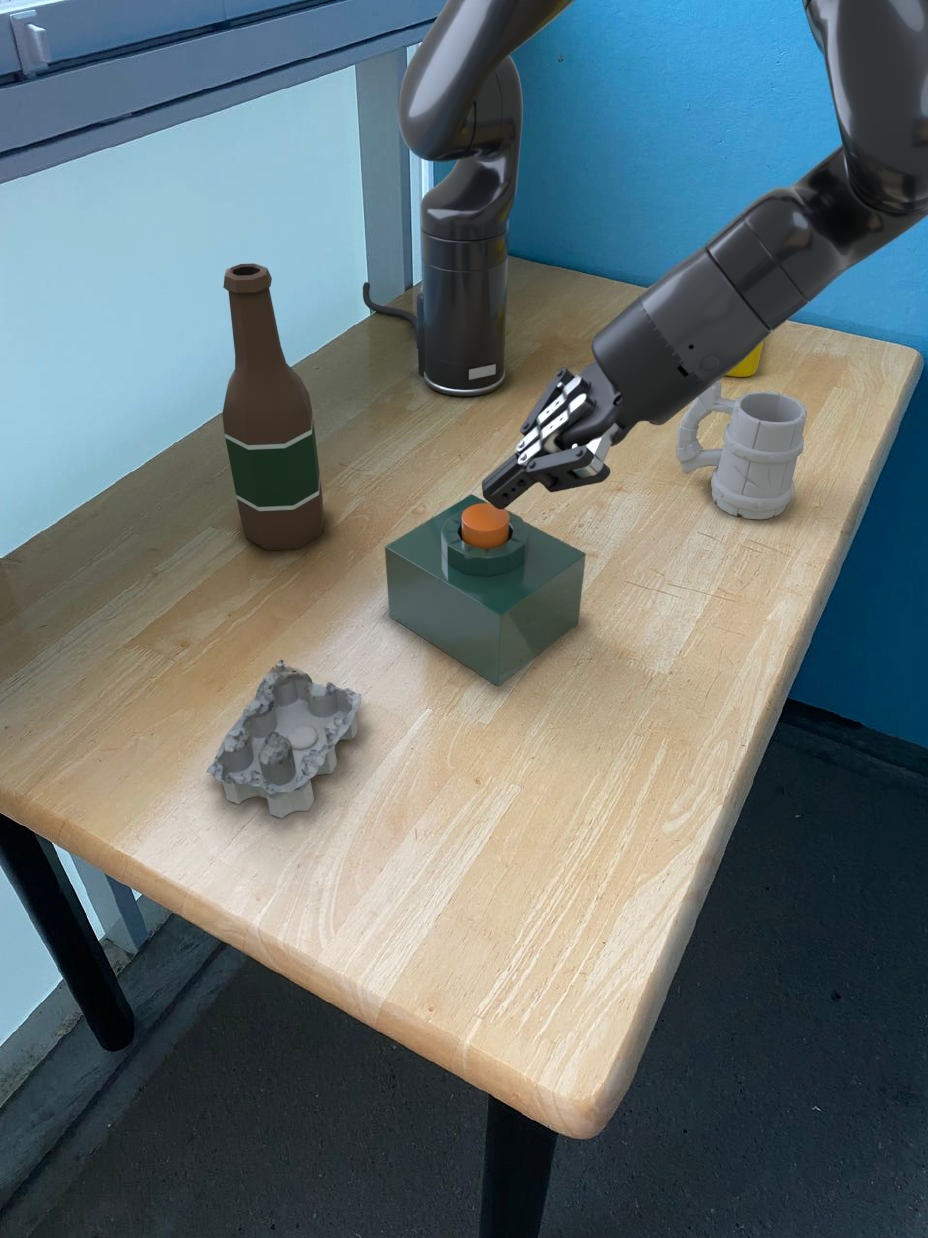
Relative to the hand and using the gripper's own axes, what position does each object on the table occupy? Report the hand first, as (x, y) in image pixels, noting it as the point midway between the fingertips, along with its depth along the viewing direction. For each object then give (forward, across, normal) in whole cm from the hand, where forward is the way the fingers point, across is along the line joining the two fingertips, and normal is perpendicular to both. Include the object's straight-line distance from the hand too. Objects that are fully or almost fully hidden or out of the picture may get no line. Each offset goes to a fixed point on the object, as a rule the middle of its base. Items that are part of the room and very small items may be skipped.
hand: (490, 497), depth 69 cm
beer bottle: (+21, -14, -4) cm, 26 cm away
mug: (-9, -18, +26) cm, 33 cm away
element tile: (-12, -50, +29) cm, 59 cm away
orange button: (+3, 0, +2) cm, 3 cm away
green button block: (+9, 0, +8) cm, 12 cm away
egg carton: (+19, +14, -2) cm, 24 cm away
